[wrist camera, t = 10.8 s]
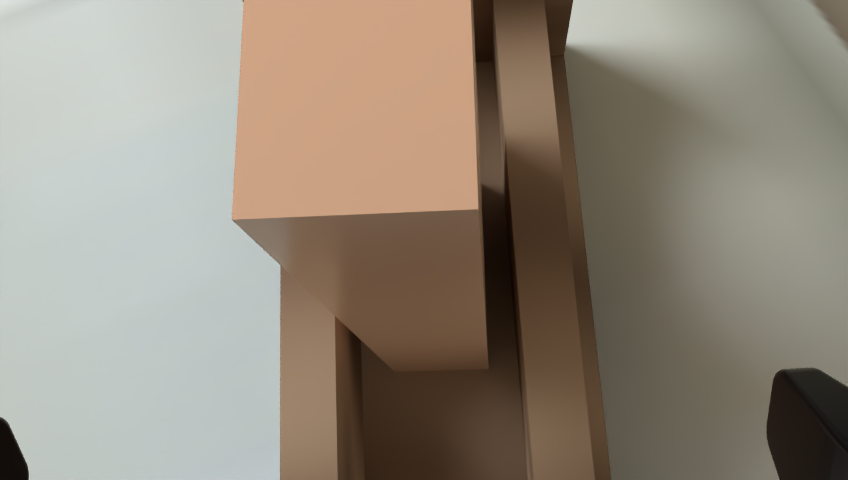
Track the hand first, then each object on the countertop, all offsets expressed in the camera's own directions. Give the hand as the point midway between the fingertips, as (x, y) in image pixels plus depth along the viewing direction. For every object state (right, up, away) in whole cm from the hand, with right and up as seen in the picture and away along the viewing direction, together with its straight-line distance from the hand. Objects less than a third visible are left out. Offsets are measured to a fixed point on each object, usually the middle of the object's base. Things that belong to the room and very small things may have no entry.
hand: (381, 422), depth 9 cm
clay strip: (+1, +1, +12) cm, 12 cm away
